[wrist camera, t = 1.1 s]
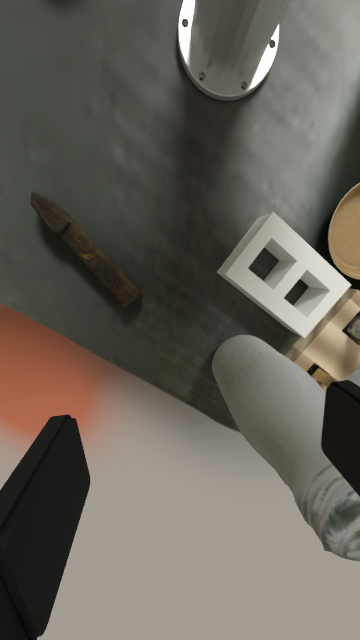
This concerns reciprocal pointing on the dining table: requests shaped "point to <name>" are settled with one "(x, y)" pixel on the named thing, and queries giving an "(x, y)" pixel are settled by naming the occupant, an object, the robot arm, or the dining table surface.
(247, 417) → the glass bottle
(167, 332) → the dining table surface
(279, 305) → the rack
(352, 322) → the clear glass vial
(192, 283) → the dining table surface
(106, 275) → the hand tool
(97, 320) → the dining table surface
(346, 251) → the plant saucer
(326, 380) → the gold square peg
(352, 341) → the socket block
